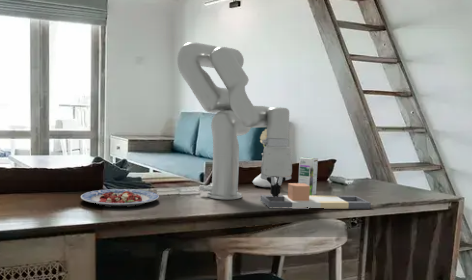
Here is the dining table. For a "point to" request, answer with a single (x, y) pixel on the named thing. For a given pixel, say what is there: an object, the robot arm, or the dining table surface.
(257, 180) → the flower in vase
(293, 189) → the terracotta block
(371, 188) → the dining table surface
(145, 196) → the ceramic plate
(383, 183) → the dining table surface
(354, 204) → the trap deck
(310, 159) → the syrup box
